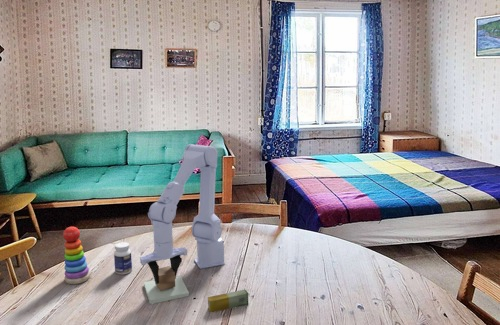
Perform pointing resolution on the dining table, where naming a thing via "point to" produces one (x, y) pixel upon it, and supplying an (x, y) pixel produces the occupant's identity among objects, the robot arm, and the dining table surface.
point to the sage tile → (165, 291)
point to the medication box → (228, 301)
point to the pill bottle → (122, 258)
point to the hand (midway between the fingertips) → (165, 280)
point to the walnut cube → (166, 278)
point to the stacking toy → (74, 258)
